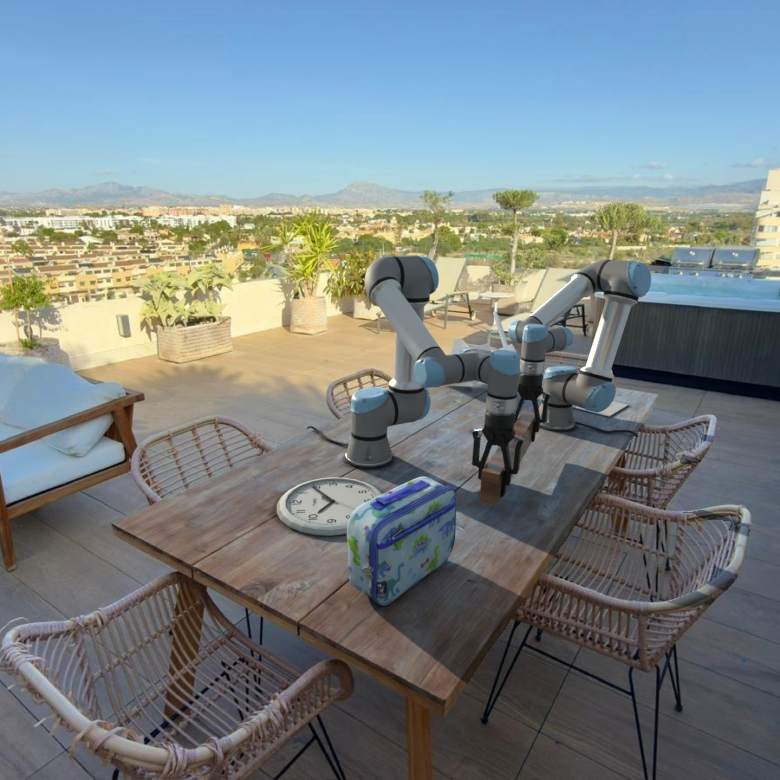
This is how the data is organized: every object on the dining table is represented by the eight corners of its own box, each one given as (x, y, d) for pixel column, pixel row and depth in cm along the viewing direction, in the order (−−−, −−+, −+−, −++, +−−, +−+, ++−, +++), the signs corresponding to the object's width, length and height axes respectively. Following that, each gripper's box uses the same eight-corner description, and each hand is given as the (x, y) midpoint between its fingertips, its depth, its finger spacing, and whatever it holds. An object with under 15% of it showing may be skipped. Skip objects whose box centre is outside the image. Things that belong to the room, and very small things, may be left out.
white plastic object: (461, 429, 252) (437, 405, 227) (444, 352, 274) (420, 323, 250) (535, 404, 240) (518, 377, 215) (510, 326, 262) (492, 293, 237)
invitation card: (608, 416, 214) (573, 407, 224) (608, 416, 214) (573, 408, 224) (628, 404, 229) (594, 396, 238) (628, 405, 229) (594, 397, 238)
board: (521, 434, 181) (523, 410, 179) (534, 436, 179) (537, 412, 177) (479, 501, 137) (481, 470, 135) (496, 505, 135) (499, 474, 133)
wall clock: (392, 527, 129) (268, 531, 127) (391, 533, 130) (269, 537, 127) (383, 473, 158) (282, 475, 155) (383, 478, 158) (282, 480, 156)
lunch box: (376, 619, 101) (377, 524, 95) (340, 592, 109) (339, 502, 102) (459, 562, 119) (465, 479, 113) (424, 542, 126) (427, 463, 120)
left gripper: (462, 410, 134) (457, 491, 141) (533, 421, 127) (523, 506, 134) (471, 401, 140) (465, 479, 147) (538, 412, 133) (528, 493, 140)
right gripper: (501, 372, 169) (496, 438, 176) (558, 379, 162) (550, 447, 169) (506, 366, 175) (500, 431, 183) (561, 373, 169) (553, 439, 176)
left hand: (493, 492), depth 141 cm, fingers closed on board, 5 cm apart
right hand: (524, 438), depth 176 cm, fingers closed on board, 5 cm apart
